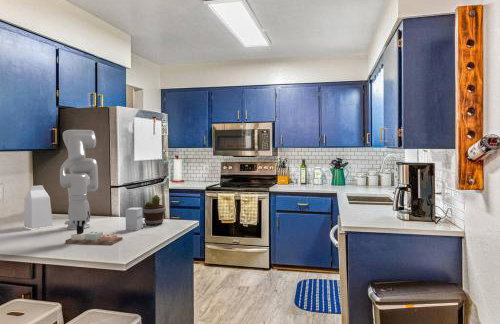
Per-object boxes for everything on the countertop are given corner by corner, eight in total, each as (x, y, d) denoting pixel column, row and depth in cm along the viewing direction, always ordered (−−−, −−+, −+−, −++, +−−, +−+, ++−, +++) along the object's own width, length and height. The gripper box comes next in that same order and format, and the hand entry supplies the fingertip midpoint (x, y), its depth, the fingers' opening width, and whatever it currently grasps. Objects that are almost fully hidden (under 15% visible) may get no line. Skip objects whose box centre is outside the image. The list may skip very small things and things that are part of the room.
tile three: (99, 242, 181) (99, 236, 181) (106, 239, 187) (106, 233, 187) (110, 242, 180) (110, 236, 180) (116, 239, 186) (116, 233, 186)
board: (65, 243, 182) (65, 240, 182) (78, 238, 192) (77, 235, 192) (112, 244, 177) (111, 241, 177) (122, 239, 187) (122, 237, 187)
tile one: (71, 240, 184) (71, 234, 183) (78, 237, 189) (78, 231, 189) (81, 240, 182) (81, 234, 182) (89, 238, 188) (88, 232, 188)
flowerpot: (138, 223, 228) (137, 192, 227) (161, 220, 237) (160, 190, 236) (146, 227, 216) (145, 194, 216) (170, 224, 225) (169, 192, 225)
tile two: (85, 239, 182) (85, 233, 182) (92, 237, 188) (92, 231, 188) (96, 240, 181) (95, 234, 181) (102, 237, 187) (102, 231, 187)
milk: (31, 230, 214) (30, 187, 213) (24, 227, 221) (22, 186, 220) (52, 226, 223) (51, 185, 222) (44, 224, 230) (43, 184, 229)
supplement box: (136, 231, 208) (136, 209, 207) (125, 230, 209) (124, 209, 209) (143, 228, 215) (142, 207, 214) (132, 227, 216) (131, 207, 216)
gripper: (61, 199, 183) (62, 234, 183) (87, 199, 180) (88, 235, 181) (71, 197, 190) (72, 231, 191) (96, 197, 187) (97, 232, 188)
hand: (80, 233), depth 186 cm, fingers closed
